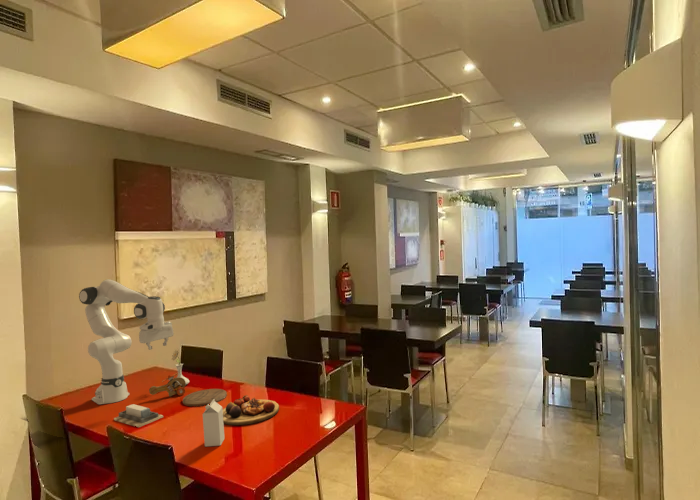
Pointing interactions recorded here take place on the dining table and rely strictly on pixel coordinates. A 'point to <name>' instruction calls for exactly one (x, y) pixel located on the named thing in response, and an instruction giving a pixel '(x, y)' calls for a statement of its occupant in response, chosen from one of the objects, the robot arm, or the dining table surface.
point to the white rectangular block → (137, 411)
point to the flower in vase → (179, 366)
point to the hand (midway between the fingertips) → (157, 347)
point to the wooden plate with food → (249, 411)
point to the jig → (137, 419)
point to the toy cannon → (170, 386)
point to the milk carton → (213, 424)
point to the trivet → (204, 397)
